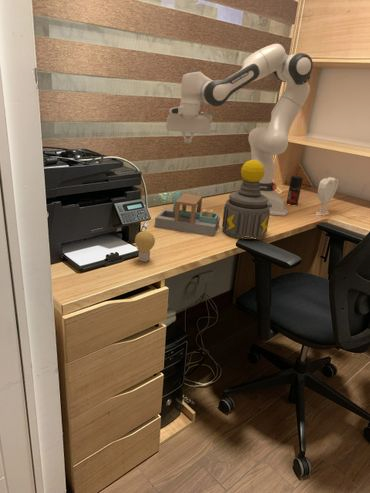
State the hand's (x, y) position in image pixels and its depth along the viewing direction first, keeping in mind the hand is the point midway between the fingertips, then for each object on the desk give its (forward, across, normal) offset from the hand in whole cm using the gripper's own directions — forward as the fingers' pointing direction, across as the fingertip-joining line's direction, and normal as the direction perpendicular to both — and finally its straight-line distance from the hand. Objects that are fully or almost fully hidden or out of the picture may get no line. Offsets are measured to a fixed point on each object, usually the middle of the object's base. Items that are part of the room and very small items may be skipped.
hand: (187, 142), depth 173 cm
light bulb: (+30, -2, +65) cm, 72 cm away
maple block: (+26, -16, +26) cm, 41 cm away
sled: (+26, -11, +26) cm, 39 cm away
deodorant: (+32, -53, -33) cm, 70 cm away
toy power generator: (+31, -31, +24) cm, 50 cm away
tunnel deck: (+30, -8, +26) cm, 41 cm away
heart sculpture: (+32, -68, -24) cm, 79 cm away
